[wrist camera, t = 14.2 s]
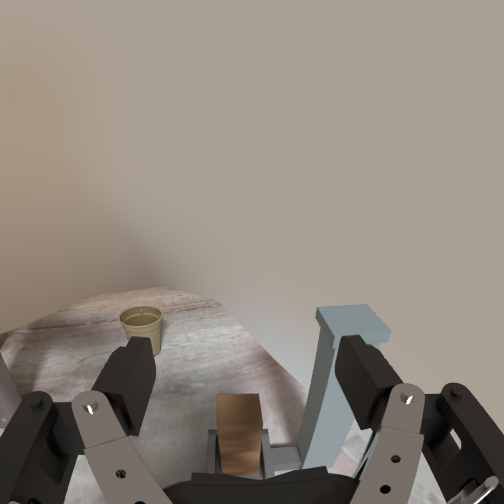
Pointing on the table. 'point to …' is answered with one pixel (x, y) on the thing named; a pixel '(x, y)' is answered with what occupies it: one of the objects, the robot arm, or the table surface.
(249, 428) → the tall brown wooden block
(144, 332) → the flower pot
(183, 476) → the table surface
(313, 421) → the tall capped pillar
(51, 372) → the table surface
